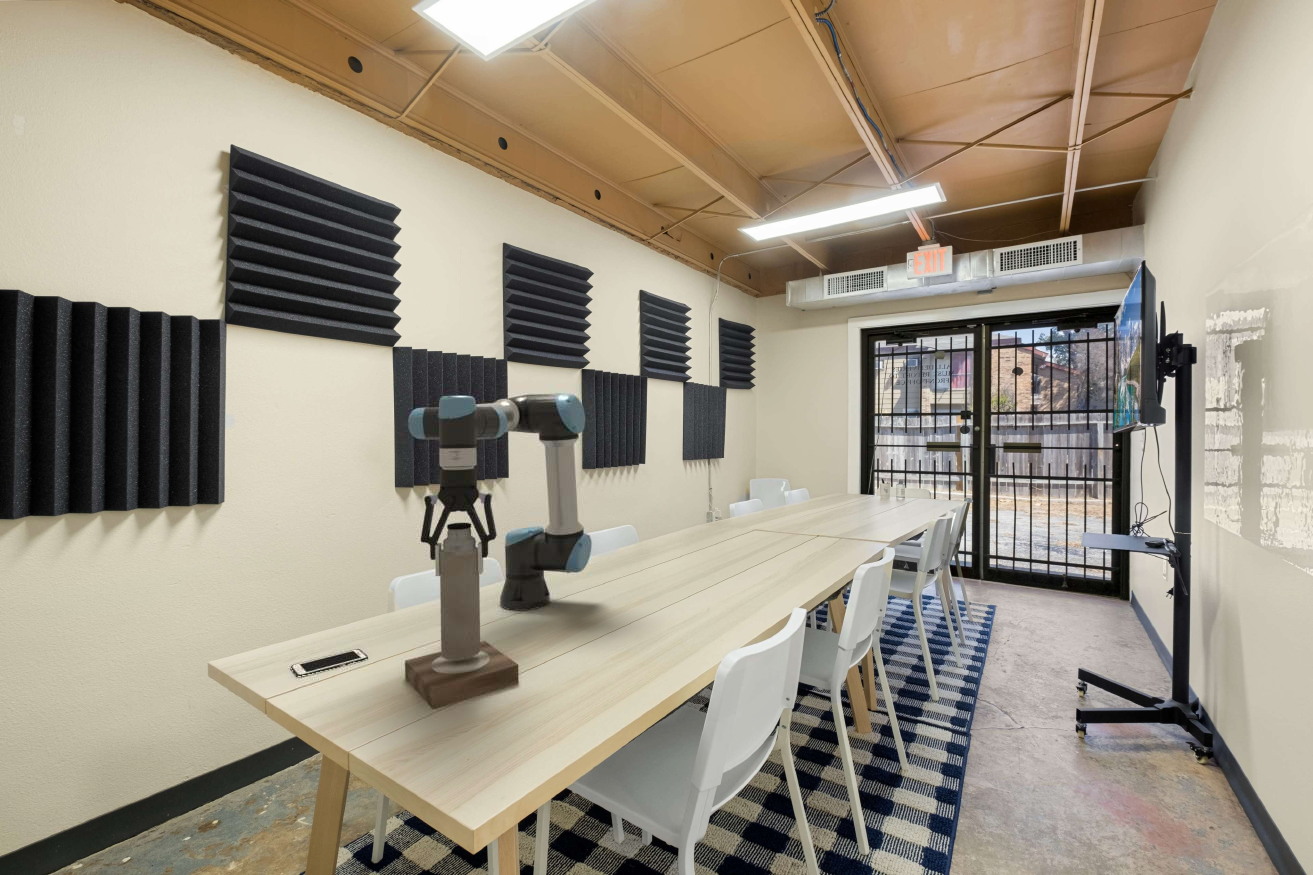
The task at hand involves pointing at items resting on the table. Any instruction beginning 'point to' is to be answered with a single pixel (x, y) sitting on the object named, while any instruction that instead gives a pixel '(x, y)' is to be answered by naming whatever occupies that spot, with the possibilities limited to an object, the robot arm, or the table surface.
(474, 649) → the thermos bottle
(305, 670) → the cell phone
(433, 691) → the walnut riser
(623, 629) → the table surface
